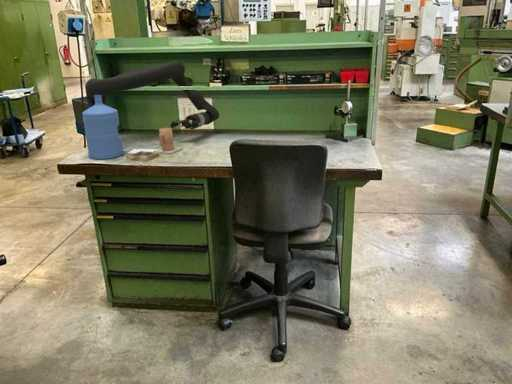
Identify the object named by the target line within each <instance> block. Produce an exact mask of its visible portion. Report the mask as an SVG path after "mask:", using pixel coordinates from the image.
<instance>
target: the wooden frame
mask: <svg viewBox="0 0 512 384" xmlns="http://www.w3.org/2000/svg"><path fill="white" fill-rule="evenodd" d="M143 156H146V157H143ZM157 157H160V153H157V152H153V151H145V150H140V151H137V152H134V153H132V154H129V155H127V156H126V160H129V161H130V160H131V161H138V162H144V163H145V162H149V161H150V160H153V159H156V158H157Z"/></svg>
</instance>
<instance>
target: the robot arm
mask: <svg viewBox="0 0 512 384" xmlns="http://www.w3.org/2000/svg"><path fill="white" fill-rule="evenodd" d="M185 72H186V67H185V65H184V64H183V62H181V61H179V60H172V61H169V62H167V63H164V64H161V65H158V66H157V65H156V66H150V67H149V66H148V67H143V68H142V67H141V68H136V69H132V70H128V71H125V72H123V73H119V74H118V75H115V76H113V77H105V78H99V79H98V78H90V79H88V80H87V81H86V83H85V86H84V87H85V96H86V102H87V109H89V108H90V107H92V106H94V105H95V97H94V95H102V96H101V98H102V103H103V104H104V105H106V106H108V102H107V98H106V96H108V95H111V94H114V93H117V92H124V91H129V90H134V89H140V88H144V87H147V86H149V85H153V84H154V83H159V82H160V81H165V80H172V81H173V82H174V83H175V85H176V86H178V87H179V86H194V85H193V84H192V83H191V82H190V81H189V79H188V78H187V77H186V75H185ZM182 92H183V94H185V96H186V97H187V98H188V100H189V101H190V102H191V104H192V105H193V107H195V108H196V110H198V111H202V110H205V111H202V112H197V113H193V114H189V115H187V116H186V117H185V118H184V119H176V120H172V121H171V123H170V128H172V129H174V128H176V127H178V128H185V130H188V129H189V130H195V129H198V128H200V127H203V126H207V125H210V124H211V123H213V122H215V121H217V120H218V119H219V118H220V113H219V110H218V109H217V108H216V107H215V106H213V105H212V104H211V103H209V102H208V101H207V100H206V99H205V97H204V96H203V95H202V93H201V92H200V91H199V90H198V91H196V90H183V91H182Z"/></svg>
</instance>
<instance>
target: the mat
mask: <svg viewBox="0 0 512 384" xmlns="http://www.w3.org/2000/svg"><path fill="white" fill-rule="evenodd" d="M182 150H183V147H177V146H174V149H173V150H171V151H162V150H161V147H160V148H158V149H155V150H153V151H152V152H157V153H159V154H162V155H163V154H164V155H174V154H176V153H178V152H181V151H182Z"/></svg>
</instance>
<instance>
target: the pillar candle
mask: <svg viewBox="0 0 512 384" xmlns="http://www.w3.org/2000/svg"><path fill="white" fill-rule="evenodd" d="M158 131H159V135H158V139H159V140H158V142H159V146H160V148H161V150H162V151H171V150H173V149H174V147H175V146H174V145H175V143H174V136H173V135H174V134H173V128H171V127H161V128H159V129H158Z"/></svg>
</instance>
